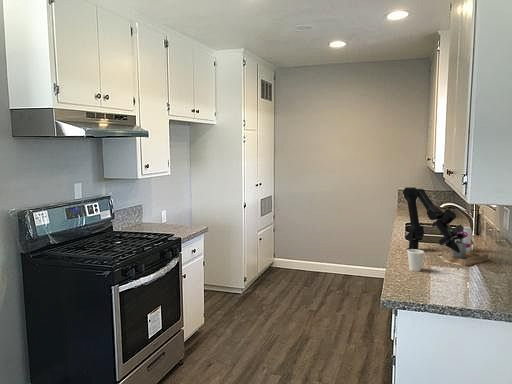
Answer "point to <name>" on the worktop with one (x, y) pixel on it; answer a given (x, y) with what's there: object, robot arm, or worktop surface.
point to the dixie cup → (415, 259)
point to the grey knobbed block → (462, 250)
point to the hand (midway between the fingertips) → (461, 251)
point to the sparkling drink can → (467, 237)
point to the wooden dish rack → (467, 259)
